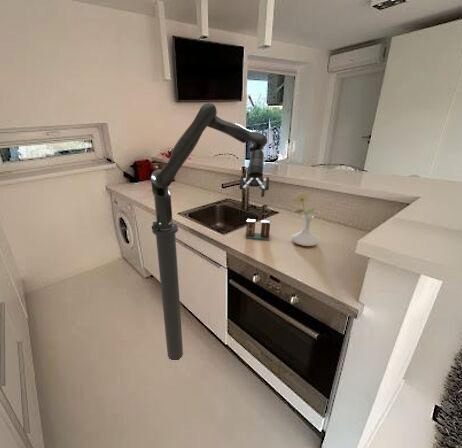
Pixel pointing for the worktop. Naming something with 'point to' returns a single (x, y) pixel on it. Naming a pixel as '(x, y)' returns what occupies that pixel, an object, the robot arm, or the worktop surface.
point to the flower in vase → (304, 236)
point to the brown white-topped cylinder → (265, 228)
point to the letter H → (250, 227)
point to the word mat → (257, 237)
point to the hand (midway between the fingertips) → (253, 196)
